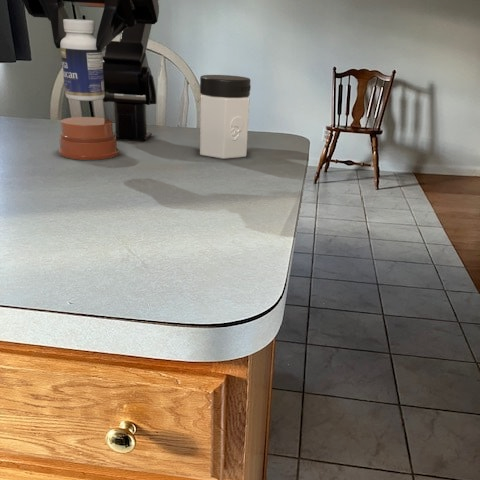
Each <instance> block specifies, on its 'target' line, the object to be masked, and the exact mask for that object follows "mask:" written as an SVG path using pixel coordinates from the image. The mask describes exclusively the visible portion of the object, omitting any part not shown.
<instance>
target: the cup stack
mask: <svg viewBox="0 0 480 480" xmlns="http://www.w3.org/2000/svg"><path fill="white" fill-rule="evenodd" d="M60 127H61V132H60V136H59V138H58V139H59V140H58V141H59V148H58V155H59V156H60V157H63V158H66V159H71V160H80V161H99V160H108V159H113V158H116V157H118V156H119V154H120V150H119V148H118V145H117V139H116V137H115V134H114V133H115V132H114V131H113V121H112V120H111V119H109V118H104V117H97V116H74V117H67V118H63V119H61V120H60Z"/></svg>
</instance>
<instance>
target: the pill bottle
mask: <svg viewBox="0 0 480 480" xmlns="http://www.w3.org/2000/svg"><path fill="white" fill-rule="evenodd" d="M63 23H64V29H65V30H64V31H65V32H66V35H65V37H64V38H63V39H62V40H61V42H60V56H61V57H60V58H61V66H62V74H63V75H62V76H63V84H64V94H65V97H66V98H67V99H68V100H72V101H81V102H95V101H100V100H103V98H104V96H105V92H104V76H103V50H102V51H98V50H97V48H96V39H97V38H95V36H94V34H95V33H96V28H95V20H93V19H92V20H91V19H79V18H78V19H74V18H69V19H64V20H63Z"/></svg>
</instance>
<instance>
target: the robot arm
mask: <svg viewBox="0 0 480 480" xmlns="http://www.w3.org/2000/svg"><path fill="white" fill-rule="evenodd" d="M21 2H22V4H23V5H24V7H25V9H26V11H27V14H29V15H30V16H31V17H33V18H44V19H47V20H48V21H50V26H51V32H52V33H51V34H52V37H53V38H52V39H53V43H54V45H55V47H56V49H61V47H60V42H61V40H62V39H63V38H64V37H66V32H65V31H64V30H65V29H64V23H63V20H64V19H70V18H69V15H68V13H67V10H66V8H65V6H66V3H67V2H69V3H72V5H73V6H76V7H85V8H86V7H87V8H103V11H102V14H101V19H100V23H99V26H98V30H97V33H96V38H95V39H96V48H97V50H98V51H102V52H103V50H104V49H105V51H104V54H103V55H102V62H103V76H104V92H105V96H104V98H103V99H102V102H104V103H108V102H109V103H113V111H114V112H113V113H114V114H113V115H114V129H115V131H114V132H113V133H114V134H115V137H116V140H123V141H139V142H146V141H147V140H148V139H149V138H150V137H152V136H153V132H150V131H148V128H147V127H148V126H147V125H148V124H147V106H151V105H157V104H158V103H157V101H158V100H157V99H158V98H157V88H156V84H155V79H154V76H153V74H152V70H151V68H150V65H149V62H148V57H147V54H146V52H147V47H148V44H149V40H150V34H151V30H152V26H153V25H156V23H157V22H158V21H159V15H160V4H159V0H21ZM119 35H120V37H119V40H114V39H115V38H116V37H117V36H119Z"/></svg>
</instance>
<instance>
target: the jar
mask: <svg viewBox="0 0 480 480" xmlns="http://www.w3.org/2000/svg"><path fill="white" fill-rule="evenodd" d="M199 80H200V81H199V93H200V114H199V115H200V116H199V117H200V118H199V122H200V124H199V155H200V156H203V157H210V158H215V159H221V160H228V159H238V158H246V157H247V153H248V134H249V120H250V119H249V116H250V100H251V99H250V95H251V94H250V93H251V79H250V78H249V77H246V76H239V75H227V74H204V75H200V77H199Z"/></svg>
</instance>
